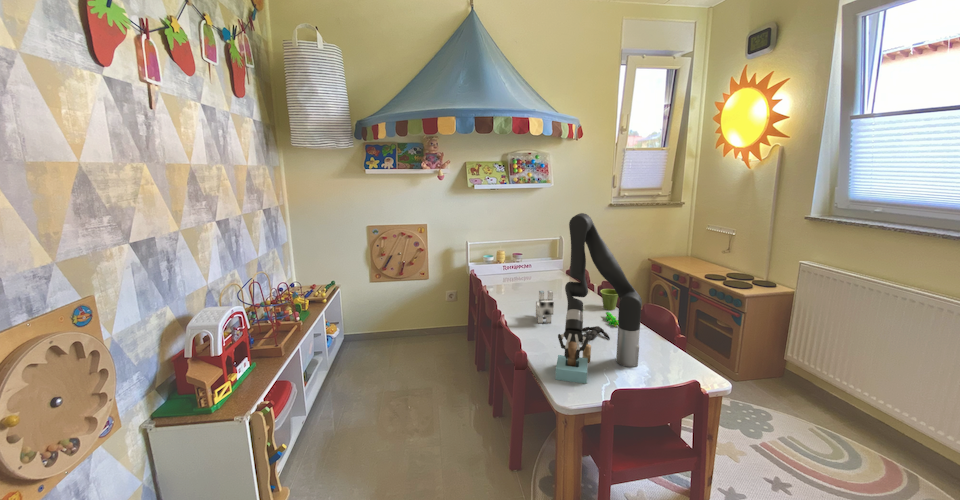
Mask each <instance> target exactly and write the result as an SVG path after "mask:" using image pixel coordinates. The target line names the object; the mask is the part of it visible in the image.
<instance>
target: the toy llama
mask: <svg viewBox="0 0 960 500" xmlns="http://www.w3.org/2000/svg"><path fill="white" fill-rule="evenodd" d="M553 296H554V291H553V290H547V298H545V291H544V290H538V301H536V302H535V318H536V320H537V323H538V324H540V325H542V324H543V323H544V319H545V322H546V324H549V325H551V324H552V315H554V305H555V303H554V302H555V301H554V297H553ZM543 318H544V319H543Z"/></svg>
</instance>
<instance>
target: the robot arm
mask: <svg viewBox="0 0 960 500" xmlns="http://www.w3.org/2000/svg"><path fill="white" fill-rule="evenodd" d="M568 229H569V235H570V236H569V237H570V264H569V275H570V277H571V278H573V279H576V280H578V281H579V282H578V281H568V282H566V284H565V287H564V291H565V295H566V299H567V308H566V309H567V310H566V316H565V326H564V327H565V328H564V332H563V333H562V334H560V333H559V334H557V338H558V342H559V344H560V345H559V346H560V348H561V349H563V350H564V356H565V357H566V359H568V342H571V341H572V342H576V343H577V350H576V360H578V359H579V357H580V352H583V351H584V349H585V347H586V345H587V343H588V344H589V341H590V340H589V338H588V337H584V336H583V334H584V333H583V331H582V328H584V327H583V326H584V324H583V322H584V315H583V314H584V302H583V301H582V300H581V299H578V298H586V296H587V295H588V293H589V288H588V283H587V279H586V268H587V267H586V265H587V257H586V250H585V247H586V246H587V249H588V252H589V256H590V257H591V260H592V262H593V264H594V266H595V267H596V269H597V271H598V272H599V274H600V275H601V277H603V278H604V280H606V281H607V283H609V285H611V286H612V289H614V290H615V291H616V292H617V294H618V299H619V304H618V314H617V315H618V316H617V320H618V325H617V339H616V356H615V357H616V358H615V360H616V363H617V364H618V365H621V366H623V367H630V368H632V367H638V366H639V355H640V354H639V353H640V345H639V344H640V343H639V342H640V333H641V332H640V329H641V319H642V317H641V314H642V306H643V300H642V298H641V295H640V294H639V293H638V291H637V290H636V289H635V288H634V287H633V285H632V284H631V283H630V281H629V280H628V278H627V277H626V275H625V273H624V271H623V268H621V267H622V266H620V264H619V262H618V260H617V259H616V257H615V256H614V254H613V253H612V251H611V249H610V248H609V247H608V245H607V243H605V241H604V239H603V238H602V237H601V235H600V234H599V232H598V229H597V227H596V226H595V223H594V222H593V219H592V217H591V216H589V215H588V214H587V213H583V212H580V213H578V214H576V215H574V216H572V217H571V218H570V220H569V223H568ZM576 297H577V298H576ZM564 338H565V340H566V343H565V344H564V342H563V340H564ZM582 339H583V341H582V345H581V346H580V343H581V342H580V341H581V340H582Z"/></svg>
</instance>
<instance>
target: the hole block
mask: <svg viewBox="0 0 960 500" xmlns="http://www.w3.org/2000/svg"><path fill="white" fill-rule="evenodd" d="M567 362H568V359H566V357H565V354H564V355H562V354H558V355H557V360H556V365H555V366H556V367H555V380H557V381H564V382H571V383H578V384H587V383H588V364H589V363H588V358H582V357H580V356H579V359H578V360H576V367H572V366H567Z"/></svg>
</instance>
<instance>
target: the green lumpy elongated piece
mask: <svg viewBox="0 0 960 500" xmlns="http://www.w3.org/2000/svg"><path fill="white" fill-rule="evenodd" d="M605 315H606V316H604V318H605V321H606V322H607V323H608V325H609V326H614V327H615V328H616V327H617V326H618V319H617V317H616V316H615V315H613V314H612V312H610V311H606V312H605Z"/></svg>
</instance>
